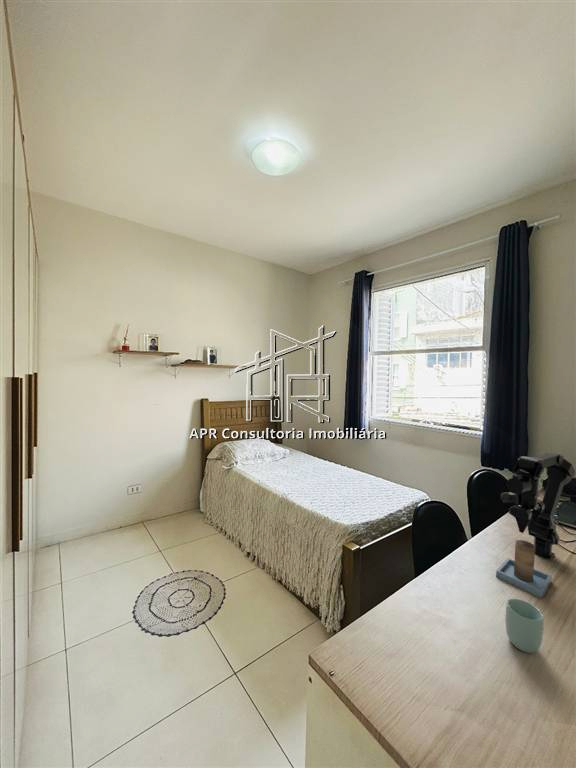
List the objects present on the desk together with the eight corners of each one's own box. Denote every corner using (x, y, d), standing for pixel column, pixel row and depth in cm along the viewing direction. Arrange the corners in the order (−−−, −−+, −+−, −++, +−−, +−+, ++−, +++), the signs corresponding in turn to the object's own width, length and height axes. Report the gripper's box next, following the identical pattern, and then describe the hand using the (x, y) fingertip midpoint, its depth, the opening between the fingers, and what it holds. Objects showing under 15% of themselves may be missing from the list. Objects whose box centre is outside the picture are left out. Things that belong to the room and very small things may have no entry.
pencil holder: (513, 569, 113) (514, 538, 112) (532, 575, 110) (533, 542, 109) (514, 578, 108) (516, 545, 107) (534, 584, 105) (536, 550, 104)
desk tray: (507, 563, 118) (508, 557, 118) (551, 582, 108) (551, 576, 108) (496, 576, 110) (496, 570, 110) (541, 598, 100) (542, 591, 100)
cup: (527, 634, 85) (530, 599, 85) (548, 660, 77) (551, 622, 77) (498, 631, 86) (500, 596, 85) (516, 656, 78) (518, 619, 78)
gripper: (513, 479, 130) (511, 515, 131) (494, 487, 120) (492, 526, 120) (546, 488, 121) (543, 526, 122) (529, 497, 110) (526, 539, 111)
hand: (525, 529), depth 119 cm, fingers open, 9 cm apart
